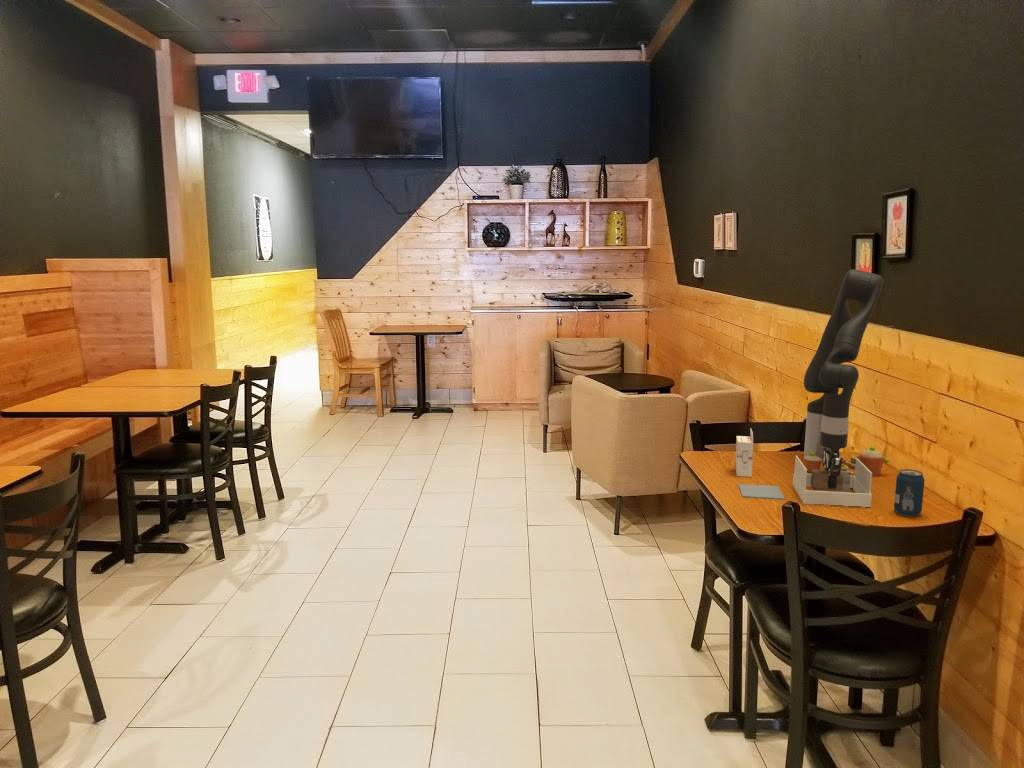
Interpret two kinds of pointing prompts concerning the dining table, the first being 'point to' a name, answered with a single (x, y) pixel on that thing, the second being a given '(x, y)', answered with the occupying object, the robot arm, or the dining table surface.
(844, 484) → the box
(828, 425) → the robot arm
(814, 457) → the toy tea set
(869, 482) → the carton
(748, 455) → the ink cartridge box
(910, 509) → the soda can
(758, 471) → the dining table surface
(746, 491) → the mat
